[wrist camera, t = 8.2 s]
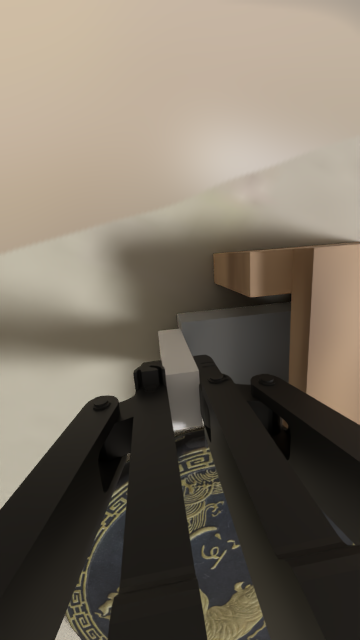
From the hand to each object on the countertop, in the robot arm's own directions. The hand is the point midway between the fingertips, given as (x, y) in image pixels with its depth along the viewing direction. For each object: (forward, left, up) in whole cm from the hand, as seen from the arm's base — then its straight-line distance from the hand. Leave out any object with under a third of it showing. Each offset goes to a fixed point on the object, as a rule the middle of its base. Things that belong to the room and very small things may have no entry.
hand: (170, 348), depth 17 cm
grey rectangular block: (+6, -1, -2) cm, 6 cm away
